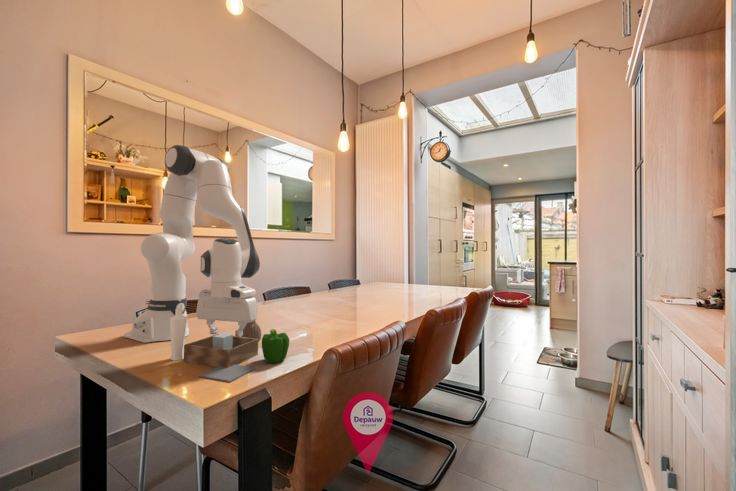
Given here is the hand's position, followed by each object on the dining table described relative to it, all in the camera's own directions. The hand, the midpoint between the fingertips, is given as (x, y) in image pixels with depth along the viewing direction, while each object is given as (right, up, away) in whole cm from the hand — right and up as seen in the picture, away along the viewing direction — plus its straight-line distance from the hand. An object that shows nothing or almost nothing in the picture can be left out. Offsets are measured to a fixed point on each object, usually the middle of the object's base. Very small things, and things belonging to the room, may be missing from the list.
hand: (226, 334), depth 101 cm
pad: (+6, -7, -12) cm, 15 cm away
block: (-1, -7, 0) cm, 7 cm away
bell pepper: (+15, -8, -1) cm, 17 cm away
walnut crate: (-1, -7, 0) cm, 7 cm away
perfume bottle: (-14, -7, -2) cm, 16 cm away
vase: (+3, -8, +14) cm, 16 cm away
